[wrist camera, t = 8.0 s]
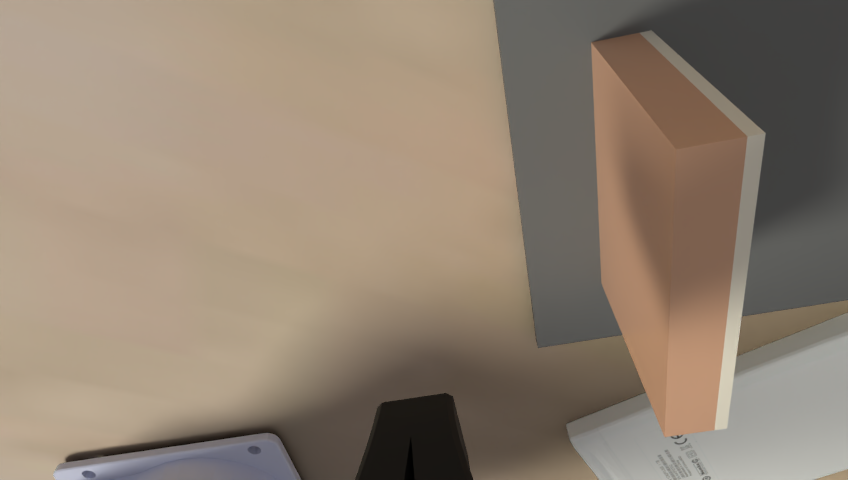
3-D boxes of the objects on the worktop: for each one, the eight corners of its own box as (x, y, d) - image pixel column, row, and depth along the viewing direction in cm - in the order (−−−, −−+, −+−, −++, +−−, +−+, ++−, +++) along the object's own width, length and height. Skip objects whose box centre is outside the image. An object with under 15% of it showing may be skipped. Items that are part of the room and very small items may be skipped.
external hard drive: (915, 411, 26) (634, 507, 29) (883, 282, 22) (561, 412, 25) (943, 444, 24) (644, 541, 28) (914, 313, 20) (570, 446, 24)
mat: (536, 339, 22) (538, 348, 22) (484, -71, 14) (486, -69, 14) (843, 292, 21) (849, 299, 21) (961, -176, 13) (975, -176, 13)
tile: (601, 283, 20) (664, 437, 15) (591, 42, 16) (676, 149, 11) (648, 276, 20) (726, 428, 15) (651, 30, 15) (765, 133, 11)
